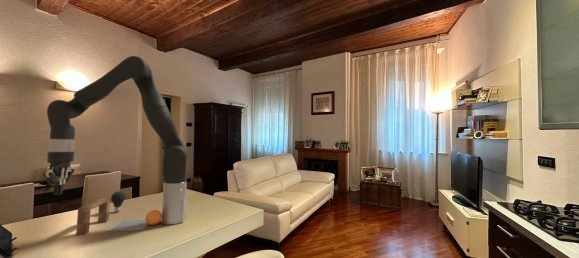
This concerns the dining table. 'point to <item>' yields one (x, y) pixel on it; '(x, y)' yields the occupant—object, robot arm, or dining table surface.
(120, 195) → the light bulb
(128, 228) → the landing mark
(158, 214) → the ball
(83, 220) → the bridge
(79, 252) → the dining table surface
